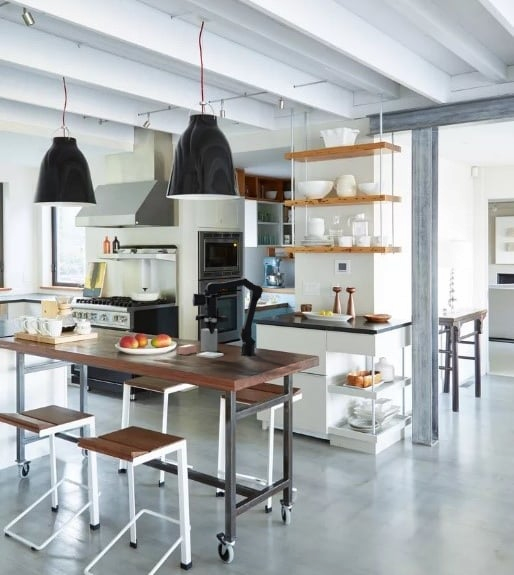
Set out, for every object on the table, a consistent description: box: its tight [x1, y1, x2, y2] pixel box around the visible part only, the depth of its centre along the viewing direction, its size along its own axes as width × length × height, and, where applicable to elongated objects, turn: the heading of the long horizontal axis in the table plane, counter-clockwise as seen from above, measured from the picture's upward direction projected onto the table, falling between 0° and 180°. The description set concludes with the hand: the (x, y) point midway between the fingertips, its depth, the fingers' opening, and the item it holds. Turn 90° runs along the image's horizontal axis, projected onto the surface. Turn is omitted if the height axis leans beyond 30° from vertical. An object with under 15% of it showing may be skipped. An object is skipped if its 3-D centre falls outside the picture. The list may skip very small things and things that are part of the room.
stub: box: [177, 344, 197, 355], centre depth 361 cm, size 4×10×4 cm, turn 149°
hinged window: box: [196, 351, 224, 359], centre depth 353 cm, size 11×10×1 cm
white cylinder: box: [200, 327, 218, 353], centre depth 371 cm, size 10×10×12 cm
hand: (212, 334), depth 352 cm, fingers closed
